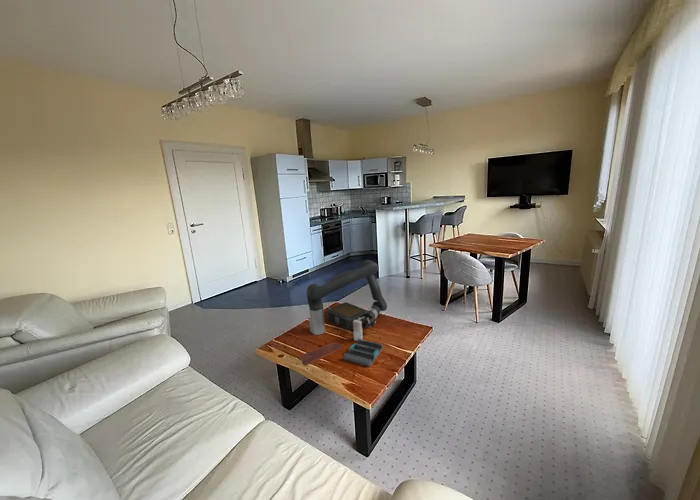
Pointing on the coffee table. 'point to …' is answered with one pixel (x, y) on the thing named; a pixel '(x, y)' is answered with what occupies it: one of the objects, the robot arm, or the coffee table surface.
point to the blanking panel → (357, 330)
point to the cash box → (345, 314)
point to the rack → (363, 352)
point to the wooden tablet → (319, 353)
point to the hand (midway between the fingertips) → (359, 326)
